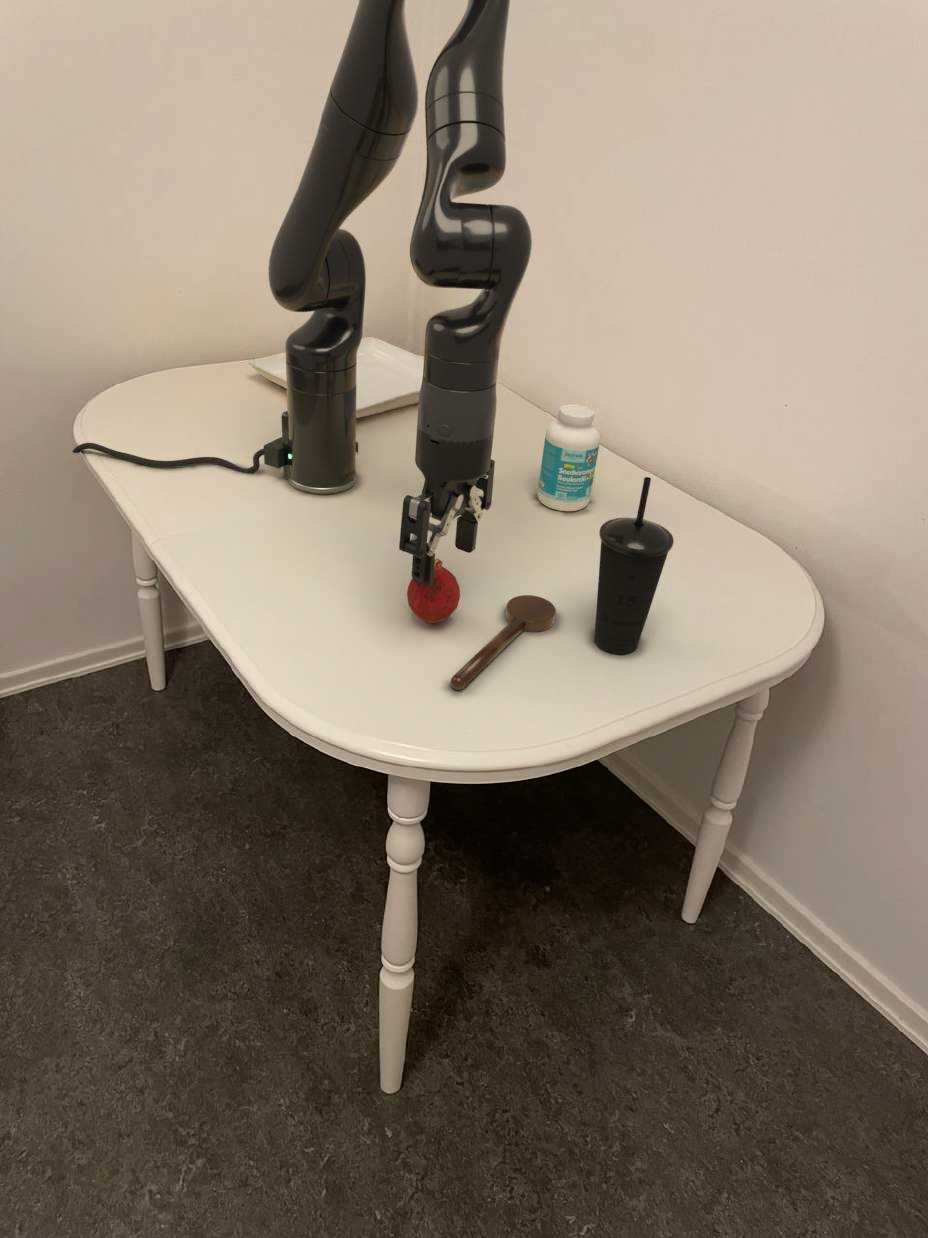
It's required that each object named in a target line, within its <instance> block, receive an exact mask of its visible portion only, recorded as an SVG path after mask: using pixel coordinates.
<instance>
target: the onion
mask: <svg viewBox="0 0 928 1238" xmlns="http://www.w3.org/2000/svg"><path fill="white" fill-rule="evenodd" d="M406 596H407V597H406V598H407V603H408V606H409V609H410V610H411V612H412V613H413V614H414V615H415V616H416V617H417V618H418V619H420V620H422V621H424V622H425V623H428V624H436V623H440V622H441V621H443V620H446V619H447V618H449V617H450V616H451V615H452V614H454V612H455V611H456V610H457V608H458V605H459V603H460V599H461V589H460V585H459V582H458V580H457V578H456V576H455V575H454V574H453V572H451V571H450V570H449V569H447V568H445V567H444V566H443V561H442V560H440V559H439V558H435V564H434V577H433V582H432V583H431V584H430V585H428V586H425V585H422V584H420V583H417V582H415V581H414V580H413V579H412V578H411V580H410V582H409V584H408V586H407V592H406Z"/></svg>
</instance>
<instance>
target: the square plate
mask: <svg viewBox="0 0 928 1238" xmlns="http://www.w3.org/2000/svg"><path fill="white" fill-rule="evenodd" d="M248 365H250V366H251V367H252V368H253V369H254V370H255V371H256V372H257V373H258V374H260V376H262V377H264V378H266V379H267V380H269V381H271V382H273V383H274V384H277V385H279V386H281V387H283V388H284V389H285V390H287V383H286V353H285V352H280V353H276V354H271V355H267V356H264V357H259V358H255V359H252V360H248ZM423 365H424V357H422V356H419V355H418V354H415V353H412V352H411V351H408V350H405V349H403V348H401V347H398V346H397V345H394V344H391V343H389V342H387V341H384V340H381V339H379V338H377V337H374V336H365V337H362V340H361V343H360V346H359V348H358V351H357V377H356V419H359V418H365V417H369V416H373V415H378V414H381V413H384V412H385V413H386V412H388V411H389V412H390V411H392V410H396V409H399V408H403V407H407V406H411V405H415V404H418V403H419V394H420V389H421V384H422V378H423Z"/></svg>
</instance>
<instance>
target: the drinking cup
mask: <svg viewBox="0 0 928 1238" xmlns="http://www.w3.org/2000/svg"><path fill="white" fill-rule="evenodd" d="M651 482H652V478H651V477H649V476H645V477H644V478H643V483H642V488H641V494H640V499H639V504H638V507H637V508H638V509H637V513H636V517H617V518H612V519H609V520H606V521H605V522H604V523H602V525H601V526H600V527H599V531H598V532H599V533H598V535H599V539H600V553H599V554H600V555H599V568H598V581H597V594H596V595H597V597H596V610H595V624H594V625H595V626H594V639H593V640H594V643H595V646H597V647H598V648H599V649H600V650H602V651H604V652H606V653H608V654H611V655H617V656H626V655H630V654H633V653H634V652H635V651H636V650H637V649H638V648H639V647H638V646H639V644H640V640H641V637H642V633H643V631H644V628H645V625H646V621H647V619H648V616H649V613H650V610H651V606H652V604H653V600H654V597H655V594H656V590H657V588H658V586H659V585H658V584H659V581H660V578H661V576H662V572H663V569H664V566H665V563H666V560H667V557H668V554H669V552H670V551H671V550H672V549H673V547H674V542H675V540H674V536H673V534H672V533H671V531H670V530H668V529H667V528H665V526H662V525H661V524H658V523H656V522H654V521H651V520H647V519H644V518H645V512H646V507H647V503H648V502H647V501H648V497H649V491H650V486H651Z"/></svg>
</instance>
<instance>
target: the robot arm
mask: <svg viewBox="0 0 928 1238" xmlns="http://www.w3.org/2000/svg"><path fill="white" fill-rule="evenodd" d="M510 6H511V0H467V6H466V10H465V11H464V14H463V16H462V18H461V20H460V21H459V23H458V25H457V26H456V28H455V29H454V31H453V32H452V34H451V35H450V37H449V39H448V40H447V41H446V43H445V44H444V45H443V47H442V49H441V51H439V53H438V55H437V57H436V58H435V61H434V62H433V65H432V67H431V69H430V72H429V75H428V79H427V83H426V88H425V97H424V99H425V100H424V117H425V143H426V166H425V167H426V168H425V177H424V185H423V189H422V194H421V198H420V202H419V206H418V209H417V213H416V216H415V220H414V223H413V228H412V232H411V236H410V241H409V242H410V244H409V258H410V263H411V265H412V269H413V271H414V273H415V274H416V277H417V278H418V279H419V280H420V281H421V282H422V283H424V285H426V286H428V287H432V288H436V289H460V290H461V289H462V290H463V289H466V290H481V291H480V292H479V293H478V295H477V297H476V298H475V299H474V300H473V301H472V302H470V303H468V304H466V305H463V306H459V307H455V308H449V309H444V310H442V311H438V312H436V313H434V314H432V315H431V316H430V317H429V319H428V321H427V323H426V327H425V333H424V335H425V336H424V348H423V349H424V350H423V351H424V352H423V358H424V365H423V378H422V384H421V389H420V394H419V403H417V404H418V405H417V421H416V437H415V442H416V443H415V453H414V454H415V455H414V462H415V466H416V467H417V469H418V470H419V471H420V472H421V474H422V476H423V477H424V482H423V487H422V490H421V493H420V495H417V496H412V495H409V494H407V495H406V496H405V497H404V498H403V501H402V510H401V522H400V533H399V544H398V549H399V551H401V552H403V553H406V554H410V555H412V561H411V564H412V565H411V579H413V580H414V581H415V582H417V583H420V584H422V585H425V586H428V585H430V584H431V583H432V582H433V577H434V564H435V559H436V553H435V552H436V549H437V547H438V544H439V542H440V540H441V538H442V537H445V536H447V534H448V532H449V529H450V528H451V525H452V522H453V521H454V520H455V519H456V528H455V539H454V546H455V548H456V549H457V550H459V551H462V552H465V553H467V554H471V553H472V552H474V551H475V550H476V547H477V545H476V544H477V535H478V526H479V522H481V520H482V519H483V515H484V512H483V511H484V510H485V511H488V510H490V508H491V506H492V503H493V502H492V501H493V490H494V489H493V488H494V478H495V477H494V476H495V475H494V474H495V464H496V463H495V460H494V459H492V451H493V444H494V443H493V442H494V432H495V424H496V414H497V403H498V402H497V401H498V400H497V399H498V398H497V397H498V396H497V380H498V372H499V371H498V370H499V361H500V352H501V345H502V338H503V334H504V332H505V331H504V330H505V327H506V324H507V321H508V318H509V315H510V313H511V309H512V307H513V304H514V301H515V299H516V297H517V294H518V291H519V289H520V287H521V284H522V282H523V279H524V277H525V275H526V272H527V269H528V266H529V263H530V259H531V254H532V248H533V247H532V246H533V237H532V230H531V226H530V224H529V222H528V220H527V218H526V216H525V214H523V211H521V210H520V209H519V208H517V207H515V206H512V205H508V204H496V203H495V204H494V203H493V204H492V203H475V202H474V203H473V202H457V201H453V200H454V199H457V198H459V197H462V196H463V197H464V196H466V195H467V196H468V195H473V194H477V193H480V192H484V191H486V190H488V189H491V188H493V187H494V186H496V185H497V184H498V183H499V182H500V181H501V180H502V179H503V177H504V174H505V171H506V168H507V144H506V122H505V119H506V118H505V101H504V65H505V64H504V63H505V52H506V51H505V50H506V40H507V32H508V22H509V16H510V15H509V14H510ZM406 20H407V19H406V0H359V1H358V4H357V8H356V11H355V13H354V17H353V20H352V24H351V27H350V30H349V32H348V35H347V39H346V42H345V45H344V47H343V50H342V53H341V56H340V59H339V62H338V64H337V68H336V70H335V73H334V75H333V78H332V82H331V84H330V87H329V89H328V93H327V97H326V100H325V103H324V105H323V106H324V107H323V108H322V109H323V110H322V113H321V117H320V121H319V123H318V128H317V131H316V135H315V138H314V141H313V144H312V147H311V149H310V150H311V151H310V153H309V156H308V158H307V161H306V164H305V167H304V170H303V172H302V176H301V177H300V181H299V184H298V186H297V189H296V191H295V194H294V197H293V198H292V201H291V203H290V205H289V207H288V210H287V211H286V214H285V216H284V218H283V221H282V223H281V225H280V227H279V229H278V232H277V234H276V236H275V239H274V241H273V244H272V247H271V249H270V250H271V251H270V254H269V259H268V269H267V270H268V272H267V273H268V283H269V288H270V292H271V294H272V297H273V298H274V301H276V303H277V304H278V305H279V306H280V307H282V308H283V309H285V310H287V311H289V312H294V313H309V312H310V313H311V312H312V314H311V315H310V317H309V318H308V319H307V320H306V321H305V322H304V323H303V324H302V325H301V326H300V327H298V328H296V329H295V330H293V331H292V332H291V333H290V334H289V335H288V336H287V337H286V340H285V346H284V348H285V353H286V383H287V389H286V411H284V412H282V414H281V418H280V419H281V436H280V437H278V438H275V439H274V440H272V441H270V442H267V443H266V444H264V445H263V448H261V449H259V450H257V451H256V452H254V454H253V457H252V463H253V465H252V466H250V467H248V468H247V467H245V468H244V467H240V466H239V465H236V464H234V463H233V462H231V461H229V460H227V459H224V458H221V457H216V456H198V457H191V458H189V457H188V458H183V459H177V460H158V459H150V458H145V457H142V456H139V455H134V454H131V453H128V452H122V451H119V450H115V449H112V448H109V447H106V446H104V445H102V444H99V443H94V442H83V443H81V444H79V445H77V446H75V448H73V450H71V451H72V452H71V453H73V454H79V453H81V452H83V451H84V450H94V451H98V452H101V453H103V454H106V455H109V456H111V457H115V458H117V459H123V460H126V461H131V462H134V463H137V464H141V465H145V466H150V467H156V468H172V467H173V468H177V467H184V466H190V465H191V466H192V465H196V464H197V465H198V464H216V465H221V466H223V467H225V468H228V469H229V470H231V471H235V472H239V473H242V474H251V475H252V474H254V473H255V472H257V471H258V470H259V469H260V466H261V465H260V459H261V457H262V456H263V461H264V463H263V464H264V465H267V466H269V467H272V468H275V469H277V470H278V469H280V468H281V469H282V476H283V479H286V480H288V482H289V484H290V485H291V486H292V487H294V488H295V489H297V490H300V491H302V492H304V493H305V492H306V493H309V494H316V495H317V494H318V495H320V494H321V495H328V494H336V493H341V492H344V491H346V490H349V489H351V488H352V487H353V486H354V485H355V484H356V482H357V472H356V466H357V465H356V462H357V459H356V457H357V456H356V455H357V454H359V442H357V418H356V377H357V351H358V348H359V346H360V343H361V340H362V338H363V330H364V316H365V303H366V302H365V301H366V290H367V289H366V286H367V273H366V272H367V270H366V263H365V257H364V253H363V250H362V248H361V244H360V243H359V241H358V239H357V238H356V237H355V236H354V235H353V233H351V232H350V231H348V230H345V229H343V228H341V226H343V224H344V223H345V221H346V220H347V219H348V218H349V217H350V215H351V214H353V213H354V212H355V211H356V209H357V208H359V207H360V206H361V204H363V203H364V202H365V201H366V200H367V199H368V198H369V197H370V196H371V195H372V194H373V193H374V192H375V191H376V190H377V189H378V188H379V187H380V186H381V185H382V184H383V182H385V180H386V179H387V178H388V177H389V175H390V174H391V173H392V172H393V170H394V168H395V167H396V165H397V164H398V161H399V160H400V157H401V156H402V153H403V150H404V148H405V145H406V143H407V140H408V138H409V136H410V133H411V130H412V128H413V126H414V124H415V121H416V118H417V116H418V110H419V101H420V97H419V86H418V80H417V79H418V78H417V73H416V68H415V64H414V59H413V55H412V51H411V45H410V41H409V35H408V29H407V21H406ZM478 489H479V490H481V491H482V492H483V493H482V495H479V494H478V491H479V490H478ZM430 518H431V519H434V520H436V521H439V522H440V523H438V524H436V523H435V524H434V523H432V522H430ZM429 532H431V535H430V537H429V540H428V535H429ZM411 534H412V535H411Z"/></svg>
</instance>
